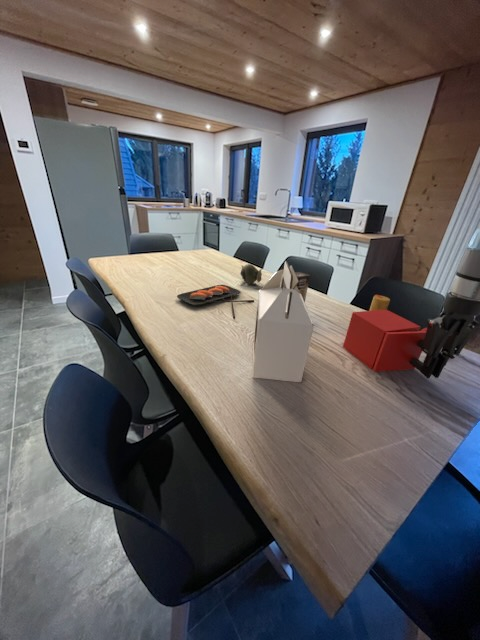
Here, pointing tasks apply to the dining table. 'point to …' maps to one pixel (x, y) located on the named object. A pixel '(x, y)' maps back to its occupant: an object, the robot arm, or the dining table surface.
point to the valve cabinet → (373, 333)
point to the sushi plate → (210, 295)
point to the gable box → (281, 329)
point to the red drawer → (400, 351)
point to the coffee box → (302, 283)
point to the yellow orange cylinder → (379, 303)
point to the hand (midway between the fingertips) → (429, 374)
